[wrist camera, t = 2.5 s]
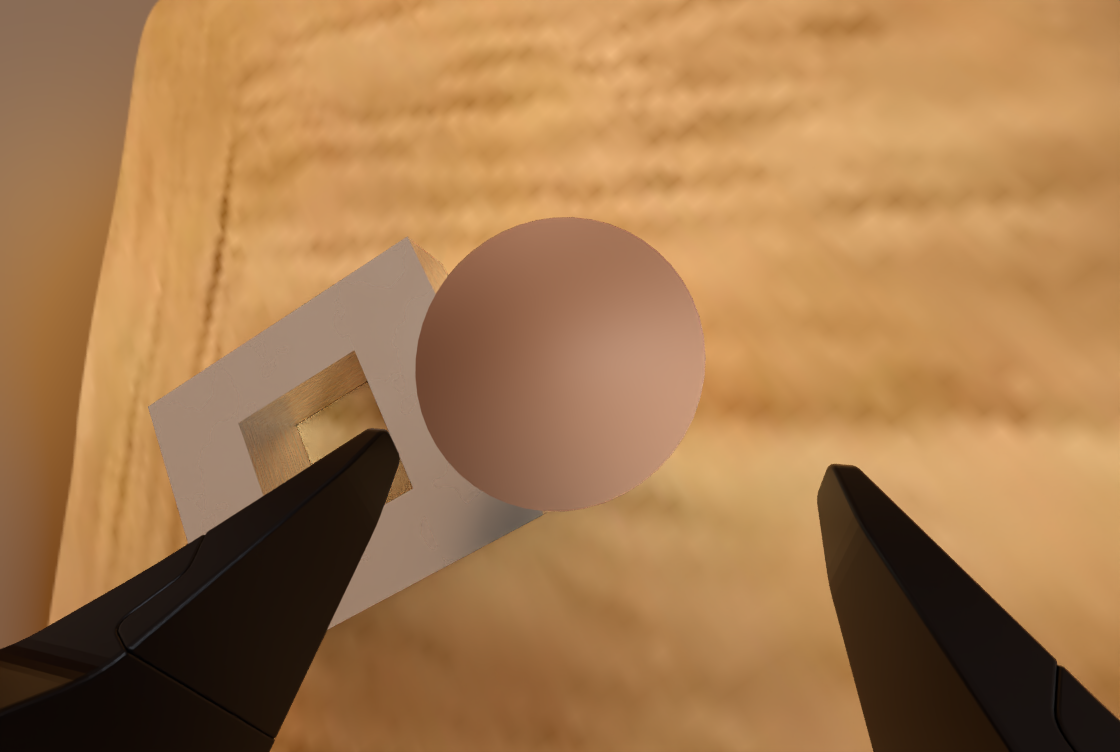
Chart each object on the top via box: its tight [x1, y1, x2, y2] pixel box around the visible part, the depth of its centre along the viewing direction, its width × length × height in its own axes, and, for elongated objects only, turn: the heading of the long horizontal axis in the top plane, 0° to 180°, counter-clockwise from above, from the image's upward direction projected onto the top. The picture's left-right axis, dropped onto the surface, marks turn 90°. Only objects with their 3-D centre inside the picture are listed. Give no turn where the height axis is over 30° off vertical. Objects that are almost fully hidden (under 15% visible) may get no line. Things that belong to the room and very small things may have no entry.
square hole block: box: [148, 237, 548, 630], centre depth 19 cm, size 12×14×3 cm
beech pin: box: [415, 217, 705, 511], centre depth 12 cm, size 4×4×12 cm
